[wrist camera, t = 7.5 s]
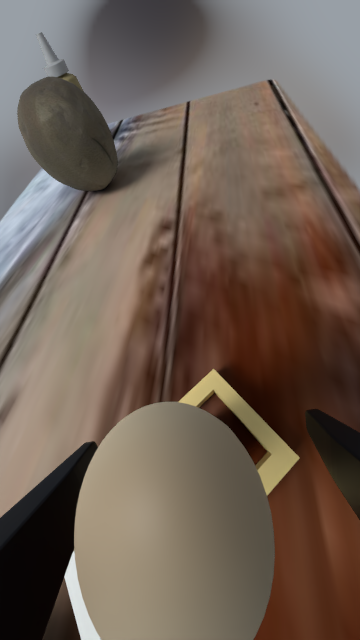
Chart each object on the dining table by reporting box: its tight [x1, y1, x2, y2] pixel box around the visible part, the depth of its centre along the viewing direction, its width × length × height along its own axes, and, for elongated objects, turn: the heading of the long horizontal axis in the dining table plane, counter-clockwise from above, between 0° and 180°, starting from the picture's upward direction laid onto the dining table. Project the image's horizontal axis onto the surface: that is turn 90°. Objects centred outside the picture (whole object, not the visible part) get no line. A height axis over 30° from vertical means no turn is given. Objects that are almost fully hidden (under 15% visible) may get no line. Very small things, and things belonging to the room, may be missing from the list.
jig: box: [64, 369, 299, 640], centre depth 12 cm, size 16×23×2 cm
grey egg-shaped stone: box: [18, 77, 118, 191], centre depth 35 cm, size 14×14×15 cm
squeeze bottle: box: [37, 33, 84, 92], centre depth 46 cm, size 8×8×18 cm
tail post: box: [74, 402, 275, 640], centre depth 10 cm, size 4×4×14 cm
